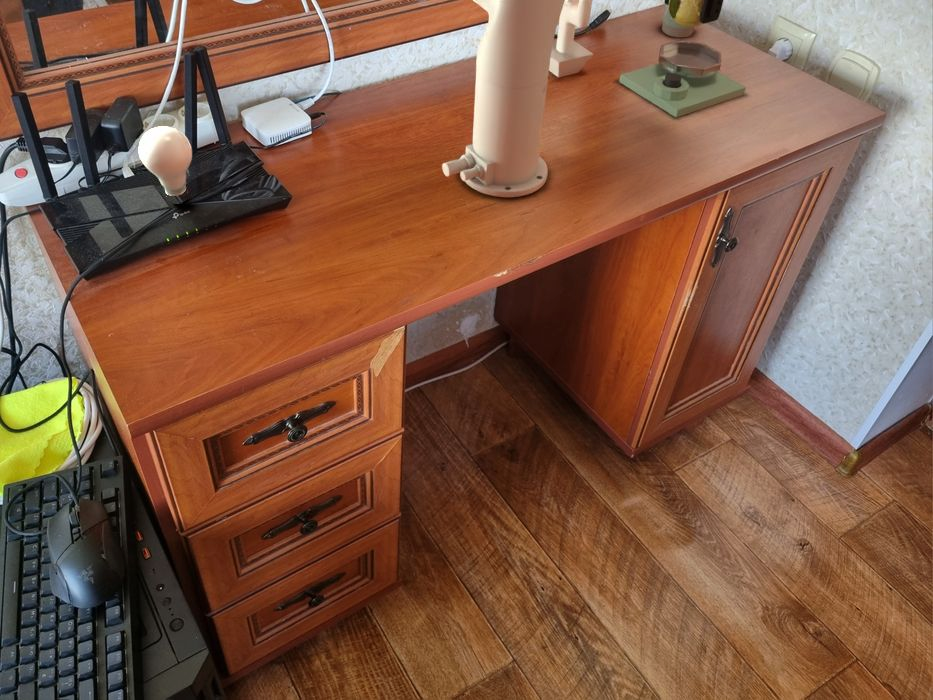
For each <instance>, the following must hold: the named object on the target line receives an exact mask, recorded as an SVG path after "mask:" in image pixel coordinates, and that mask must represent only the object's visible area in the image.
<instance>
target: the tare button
mask: <svg viewBox="0 0 933 700" xmlns="http://www.w3.org/2000/svg"><path fill="white" fill-rule="evenodd" d="M680 82H681V76H680V75H678V74H675V73H668V74H666V76H665V80H664V85H665V86H666V87H670V88H678V87H679V86H680Z"/></svg>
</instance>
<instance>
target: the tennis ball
mask: <svg viewBox="0 0 933 700" xmlns="http://www.w3.org/2000/svg"><path fill="white" fill-rule="evenodd" d="M703 4H704V0H669V12H670V15H671V19H672V20H673V19H674V20H675V21H676V22H677V23H678V24H680V25H683V26H685V27H694V28H696V27H699V26H701V25H703V23H701V22H700V16H701V12H702V8H703Z"/></svg>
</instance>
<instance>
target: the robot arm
mask: <svg viewBox="0 0 933 700" xmlns="http://www.w3.org/2000/svg"><path fill="white" fill-rule="evenodd" d="M472 1H473V2H474V3H476V4H477V5H478V6H479V7H481V8H482V9H483V10H484V11H486V12H487V14H488V22H487V25H486V27H485V30H484V32H483V34H482V36H481V37H480V40H479V42H478V46H477V50H476V51H477V52H476V64H475V86H474V108H473V125H472V126H473V127H472V144H468V145H466V146H465V154H462V155H461V156H460V158H458V159H452V160H449V161H446V162H443V163H442V164H441V170H442V172H443V174H444V175H445V177H451V176H454V175H457V174H459V177H460V179H461V181H462V182H465V183H466V185H468V186H469V187H470V188H471V189H473V190H476V191H477V192H479V193H481V194H484V195H488V196H492V197H498V198H515V197H516V198H518V197H522V196H523V197H524V196H528V195H530V194H532V193H534V192H535V193H536V191H539V189H541V188H542V187H543V186H544V185H545V183H546V182H547V180H548V174H549V173H548V171H549V169H548V165H547V163H546V162H545V161H546V160H544V159H543V158H542V156H540V149H541V140H542V133H543V125H544V115H545V108H546V99H547V92H548V83H549V76H550V75H549V74H550V71H549V65H550V58H551V51H552V45H553V41H554V39H555V35H556V32H557V31H556V30H557V27H558V26H557V24H558V20H559V17H560V14H561V11H562V8H563V5H564V2H565V0H472ZM663 3H664V5H665V4H667V5H669V0H664V1H663ZM723 4H724V0H704V4H703V8H702V12H701V16H700V22H701V23H702V25H704V24H705V25H706V24H708V23H711V22H715V21H716V22H717V20H719V18H720V14H721V11H722V8H723Z"/></svg>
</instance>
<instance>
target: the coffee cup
mask: <svg viewBox="0 0 933 700" xmlns="http://www.w3.org/2000/svg"><path fill="white" fill-rule="evenodd" d="M662 16H663V17H662V27H661V30H662V32H663V33H665V35H667V36H670V37H673V38H688V37H691V35H693V33H694V31H695V27H685V26H683V25H680V24H678V23H677V22H676V21H675V20H674V19H673V20H672V19H671V15H670V12H669V5H667V4H665V3H664V6H663V15H662Z"/></svg>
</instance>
